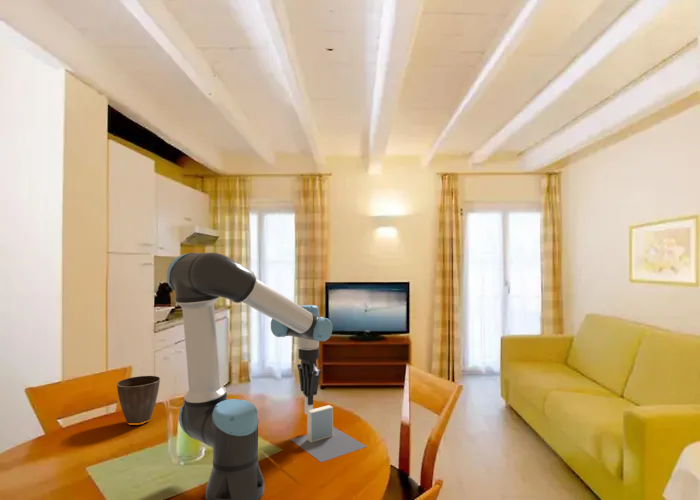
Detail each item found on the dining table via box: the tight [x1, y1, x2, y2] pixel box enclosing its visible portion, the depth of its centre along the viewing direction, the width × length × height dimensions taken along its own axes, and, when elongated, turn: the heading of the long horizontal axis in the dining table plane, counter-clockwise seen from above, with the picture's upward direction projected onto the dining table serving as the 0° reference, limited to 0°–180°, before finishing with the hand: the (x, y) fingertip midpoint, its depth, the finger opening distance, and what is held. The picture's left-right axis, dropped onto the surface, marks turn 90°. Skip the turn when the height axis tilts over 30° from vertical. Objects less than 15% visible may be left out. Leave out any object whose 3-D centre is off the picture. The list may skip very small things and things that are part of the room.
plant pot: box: [116, 375, 161, 424], centre depth 160 cm, size 15×15×16 cm
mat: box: [290, 426, 368, 463], centre depth 140 cm, size 18×20×1 cm
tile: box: [306, 404, 334, 442], centre depth 144 cm, size 9×2×10 cm, turn 126°
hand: (308, 412), depth 150 cm, fingers closed
